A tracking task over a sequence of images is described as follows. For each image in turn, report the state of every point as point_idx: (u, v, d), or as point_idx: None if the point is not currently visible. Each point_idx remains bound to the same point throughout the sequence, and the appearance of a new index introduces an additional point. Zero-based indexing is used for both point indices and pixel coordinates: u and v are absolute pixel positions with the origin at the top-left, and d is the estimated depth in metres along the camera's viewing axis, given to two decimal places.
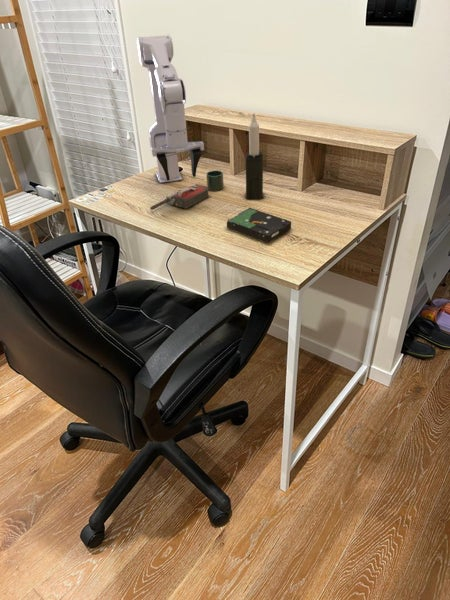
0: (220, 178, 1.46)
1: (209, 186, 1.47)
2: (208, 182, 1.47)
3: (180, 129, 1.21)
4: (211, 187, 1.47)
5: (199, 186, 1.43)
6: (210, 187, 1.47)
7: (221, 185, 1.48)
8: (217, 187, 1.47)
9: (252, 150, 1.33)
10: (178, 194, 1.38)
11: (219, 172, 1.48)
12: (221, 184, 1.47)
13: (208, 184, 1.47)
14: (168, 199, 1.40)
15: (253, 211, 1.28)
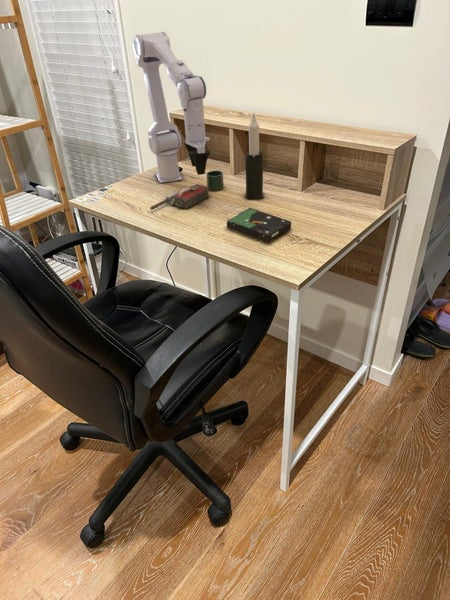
0: (220, 178, 1.46)
1: (209, 186, 1.47)
2: (208, 182, 1.47)
3: (201, 123, 1.28)
4: (211, 187, 1.47)
5: (199, 186, 1.43)
6: (210, 187, 1.47)
7: (221, 185, 1.48)
8: (217, 187, 1.47)
9: (252, 150, 1.33)
10: (178, 194, 1.38)
11: (219, 172, 1.48)
12: (221, 184, 1.47)
13: (208, 184, 1.47)
14: (168, 199, 1.40)
15: (253, 211, 1.28)
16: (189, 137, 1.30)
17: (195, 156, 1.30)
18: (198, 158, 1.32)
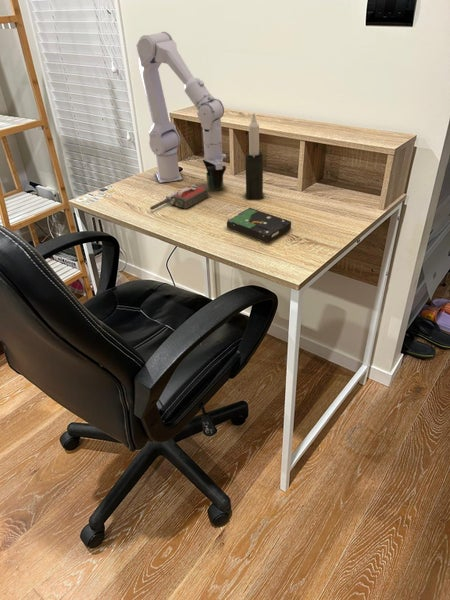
0: None
1: (209, 186, 1.48)
2: (208, 182, 1.47)
3: (221, 140, 1.40)
4: (211, 187, 1.47)
5: (199, 186, 1.43)
6: (210, 187, 1.47)
7: (221, 185, 1.48)
8: None
9: (252, 150, 1.33)
10: (178, 194, 1.38)
11: None
12: (221, 184, 1.47)
13: (208, 184, 1.47)
14: (168, 199, 1.40)
15: (253, 211, 1.28)
16: (207, 154, 1.41)
17: (212, 171, 1.41)
18: (215, 173, 1.43)
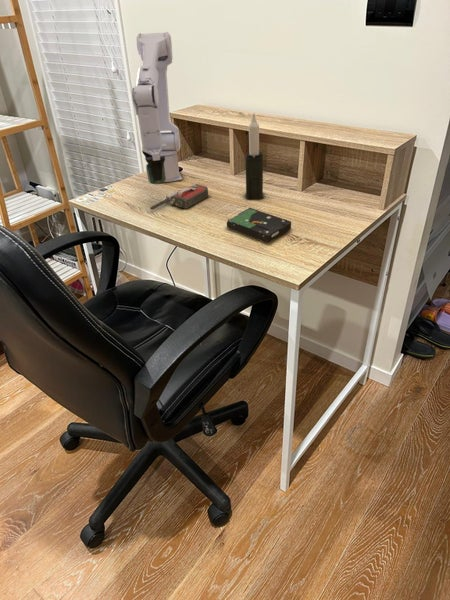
0: None
1: (149, 179, 1.36)
2: (148, 174, 1.35)
3: (151, 131, 1.27)
4: (151, 180, 1.35)
5: (199, 186, 1.43)
6: (150, 180, 1.36)
7: (162, 178, 1.36)
8: (158, 180, 1.35)
9: (252, 150, 1.33)
10: (178, 194, 1.38)
11: None
12: (162, 177, 1.36)
13: (148, 177, 1.36)
14: (168, 199, 1.40)
15: (253, 211, 1.28)
16: (144, 144, 1.29)
17: (150, 162, 1.29)
18: (154, 164, 1.32)
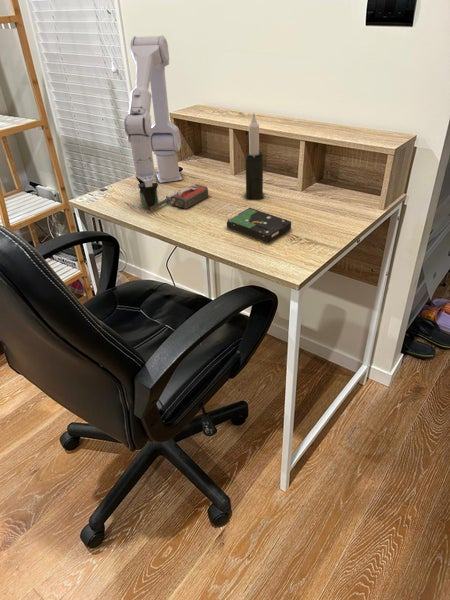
0: None
1: (142, 203, 1.39)
2: (141, 199, 1.38)
3: (142, 158, 1.30)
4: (144, 204, 1.38)
5: (199, 186, 1.43)
6: (143, 204, 1.39)
7: (155, 202, 1.39)
8: None
9: (252, 150, 1.33)
10: (178, 194, 1.38)
11: None
12: (155, 202, 1.38)
13: (141, 201, 1.39)
14: (168, 199, 1.40)
15: (253, 211, 1.28)
16: (137, 170, 1.32)
17: (143, 189, 1.32)
18: (147, 190, 1.34)
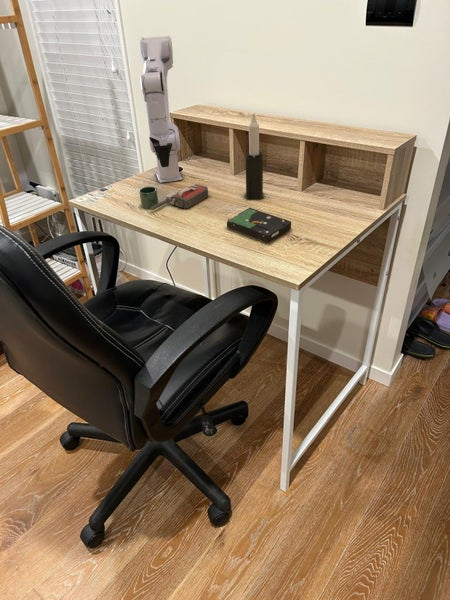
0: (153, 195, 1.37)
1: (142, 203, 1.39)
2: (141, 199, 1.38)
3: (159, 117, 1.31)
4: (144, 204, 1.38)
5: (199, 186, 1.43)
6: (143, 204, 1.39)
7: (155, 202, 1.39)
8: (151, 204, 1.38)
9: (252, 150, 1.33)
10: (178, 194, 1.38)
11: (153, 188, 1.40)
12: (155, 202, 1.38)
13: (141, 201, 1.39)
14: (168, 199, 1.40)
15: (253, 211, 1.28)
16: (151, 130, 1.33)
17: (158, 148, 1.33)
18: (161, 151, 1.35)
